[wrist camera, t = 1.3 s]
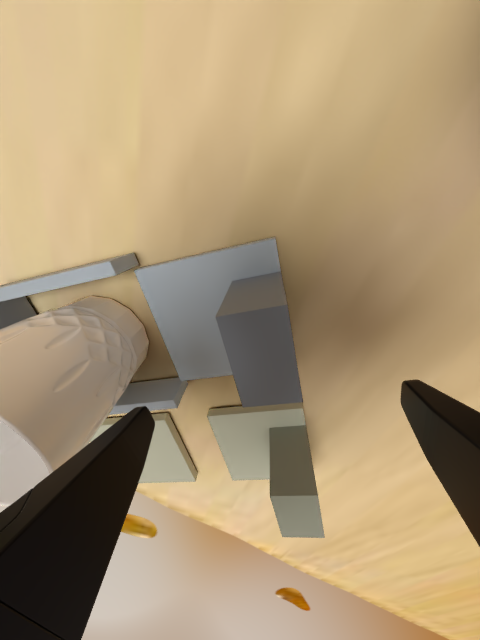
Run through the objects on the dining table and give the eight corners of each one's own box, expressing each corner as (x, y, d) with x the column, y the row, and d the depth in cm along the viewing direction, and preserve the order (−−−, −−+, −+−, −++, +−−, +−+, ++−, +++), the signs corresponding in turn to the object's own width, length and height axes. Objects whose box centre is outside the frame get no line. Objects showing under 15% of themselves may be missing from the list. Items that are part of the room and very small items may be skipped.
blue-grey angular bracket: (272, 218, 13) (275, 227, 8) (296, 371, 18) (309, 442, 13) (4, 284, 17) (-114, 320, 12) (80, 396, 22) (18, 459, 16)
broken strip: (301, 400, 19) (314, 476, 14) (312, 469, 23) (326, 550, 17) (85, 420, 23) (30, 485, 18) (124, 476, 27) (88, 543, 21)
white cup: (148, 386, 21) (57, 525, 12) (60, 356, 20) (-105, 477, 11) (165, 309, 17) (52, 424, 8) (58, 271, 17) (-184, 348, 8)
